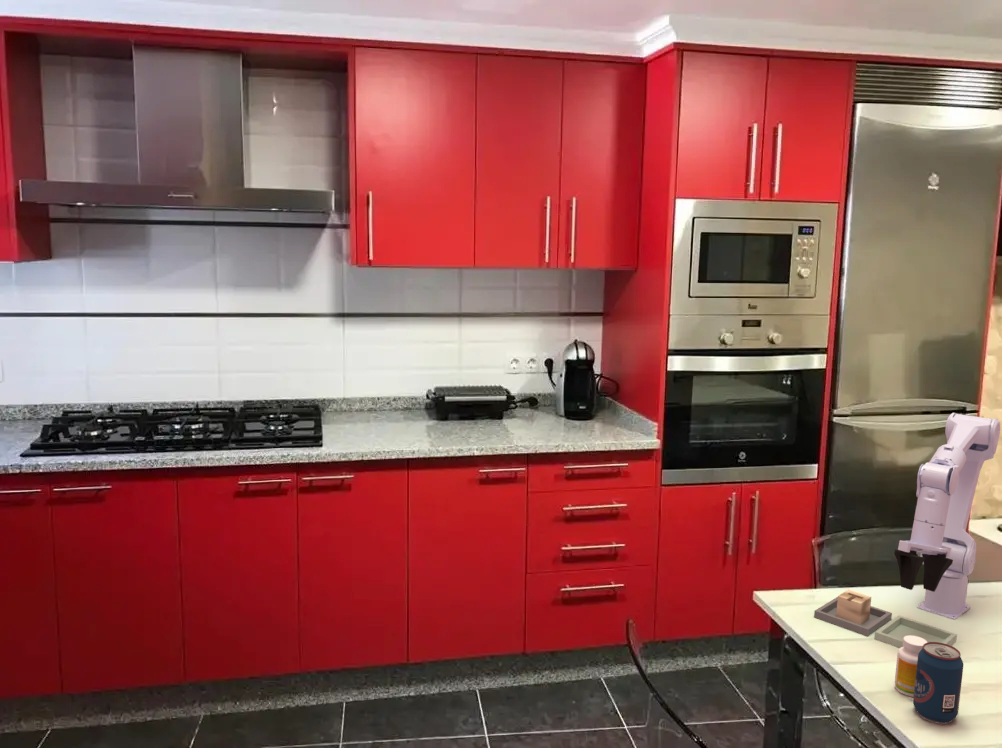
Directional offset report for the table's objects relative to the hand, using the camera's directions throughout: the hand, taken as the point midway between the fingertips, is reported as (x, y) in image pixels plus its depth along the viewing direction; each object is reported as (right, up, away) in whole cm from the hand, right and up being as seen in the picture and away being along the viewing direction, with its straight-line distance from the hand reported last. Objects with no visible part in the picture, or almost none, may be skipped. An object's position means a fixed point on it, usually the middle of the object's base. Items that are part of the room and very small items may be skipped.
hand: (917, 589), depth 170 cm
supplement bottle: (-9, -14, -16) cm, 24 cm away
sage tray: (0, -11, +2) cm, 11 cm away
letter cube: (-8, -9, +11) cm, 17 cm away
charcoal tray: (-8, -9, +11) cm, 17 cm away
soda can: (-9, -16, -24) cm, 30 cm away
